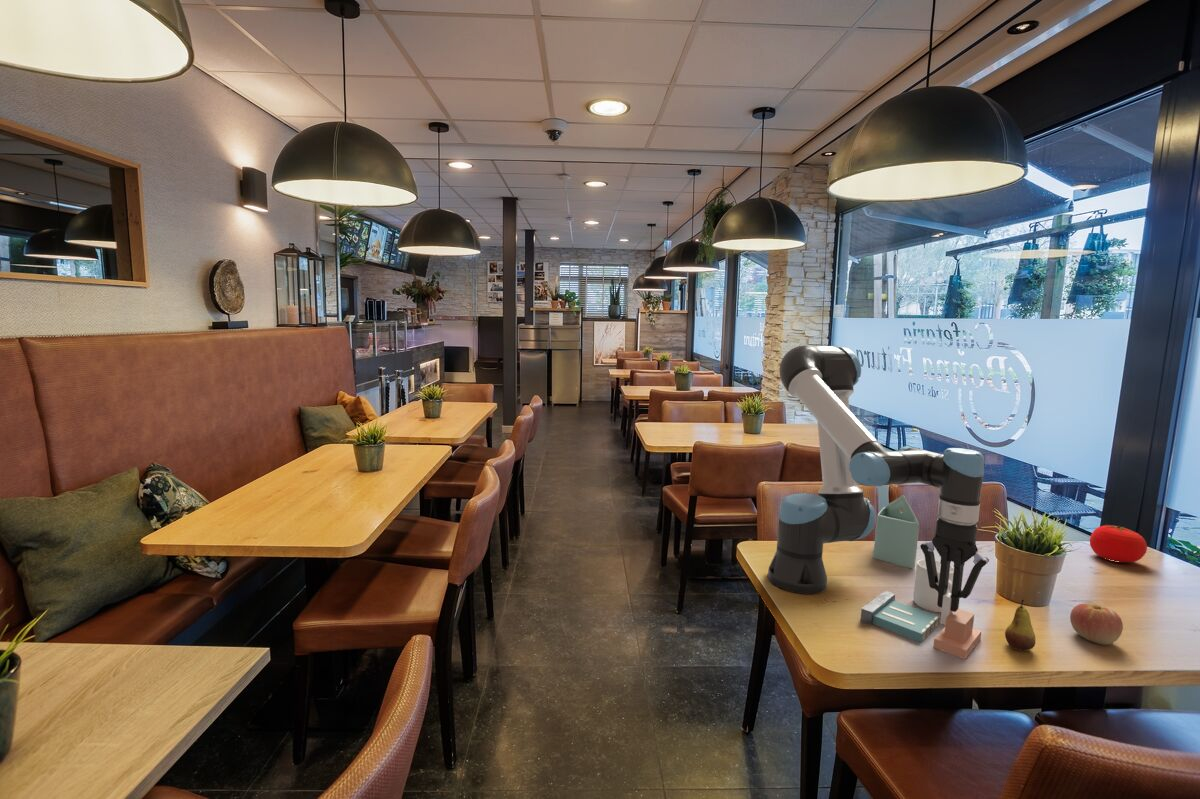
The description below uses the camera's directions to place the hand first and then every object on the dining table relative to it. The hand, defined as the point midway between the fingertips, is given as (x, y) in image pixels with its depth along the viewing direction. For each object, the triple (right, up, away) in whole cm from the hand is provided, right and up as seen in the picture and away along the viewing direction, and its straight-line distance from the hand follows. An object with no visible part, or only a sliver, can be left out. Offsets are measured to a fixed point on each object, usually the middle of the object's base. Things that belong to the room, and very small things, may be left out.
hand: (945, 622), depth 125 cm
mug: (+7, -3, +15) cm, 16 cm away
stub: (+2, -4, -1) cm, 5 cm away
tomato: (+84, -1, +51) cm, 98 cm away
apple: (+35, -5, +2) cm, 35 cm away
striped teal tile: (-6, -3, +7) cm, 10 cm away
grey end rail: (-10, -2, +11) cm, 15 cm away
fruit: (+15, -5, -2) cm, 15 cm away
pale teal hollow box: (+10, +1, +46) cm, 47 cm away
